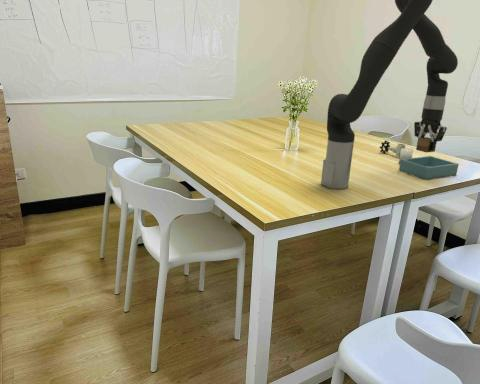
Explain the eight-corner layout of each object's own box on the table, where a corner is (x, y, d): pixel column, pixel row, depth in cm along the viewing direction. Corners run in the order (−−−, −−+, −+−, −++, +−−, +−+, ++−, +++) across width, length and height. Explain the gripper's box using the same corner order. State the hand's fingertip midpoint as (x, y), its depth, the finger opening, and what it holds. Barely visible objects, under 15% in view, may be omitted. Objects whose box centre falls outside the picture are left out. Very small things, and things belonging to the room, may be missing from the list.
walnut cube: (426, 152, 156) (428, 140, 155) (416, 149, 160) (418, 137, 159) (434, 151, 158) (437, 139, 157) (424, 148, 163) (426, 137, 161)
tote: (426, 180, 155) (428, 168, 153) (398, 170, 167) (400, 159, 165) (456, 175, 162) (458, 163, 161) (428, 166, 174) (430, 155, 172)
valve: (407, 158, 188) (387, 152, 198) (409, 144, 186) (389, 139, 196) (398, 159, 185) (378, 153, 195) (400, 146, 183) (380, 140, 193)
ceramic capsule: (404, 166, 174) (407, 150, 172) (396, 163, 178) (398, 148, 176) (412, 165, 176) (415, 150, 174) (404, 162, 180) (406, 147, 178)
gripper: (412, 105, 158) (405, 146, 164) (442, 110, 146) (434, 154, 152) (425, 104, 161) (417, 144, 167) (456, 109, 149) (447, 152, 155)
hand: (425, 149), depth 159 cm, fingers closed on walnut cube, 5 cm apart
